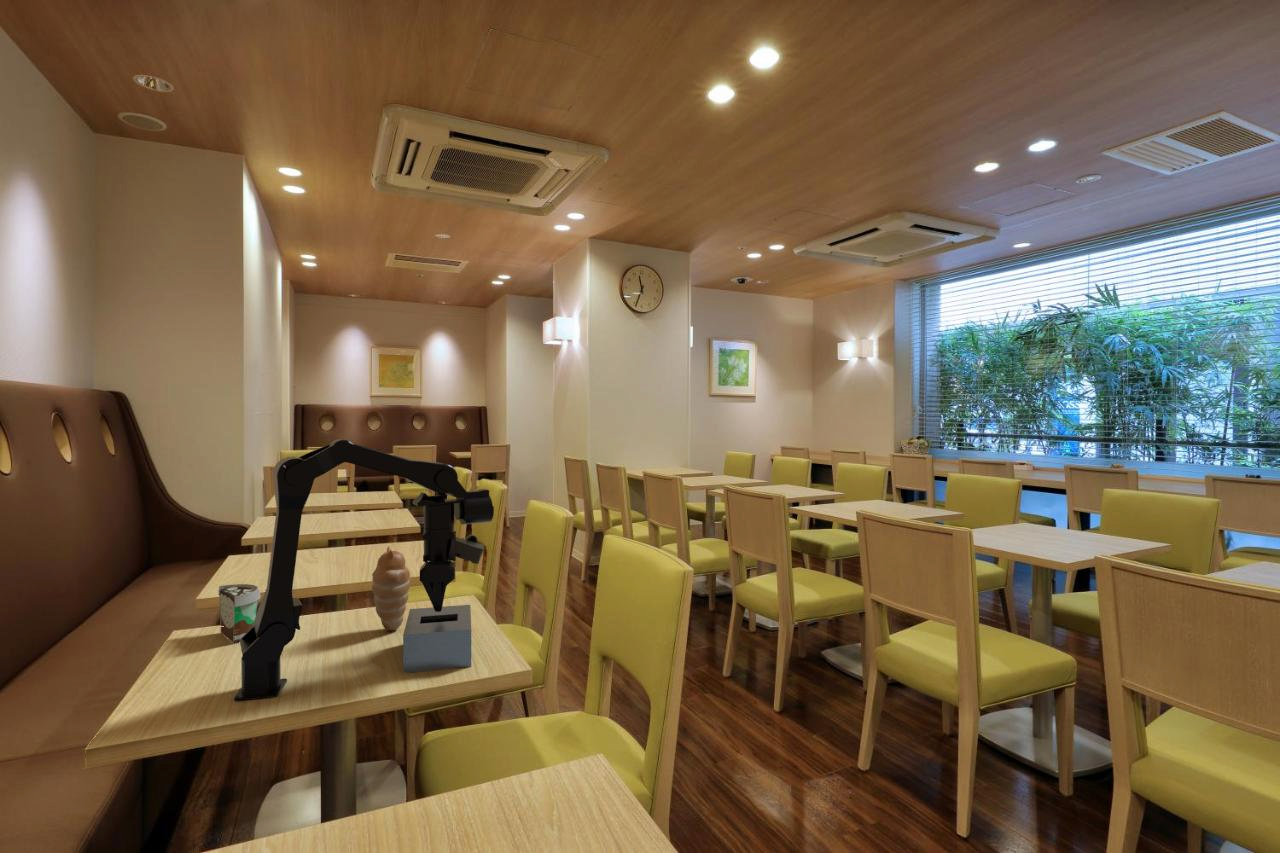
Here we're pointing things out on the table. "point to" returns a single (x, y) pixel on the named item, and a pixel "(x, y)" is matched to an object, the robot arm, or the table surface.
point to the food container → (237, 609)
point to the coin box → (437, 639)
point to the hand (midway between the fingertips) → (439, 606)
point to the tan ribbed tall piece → (391, 588)
